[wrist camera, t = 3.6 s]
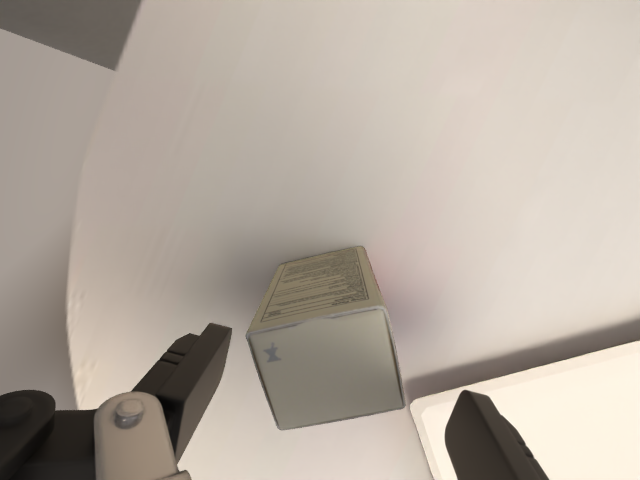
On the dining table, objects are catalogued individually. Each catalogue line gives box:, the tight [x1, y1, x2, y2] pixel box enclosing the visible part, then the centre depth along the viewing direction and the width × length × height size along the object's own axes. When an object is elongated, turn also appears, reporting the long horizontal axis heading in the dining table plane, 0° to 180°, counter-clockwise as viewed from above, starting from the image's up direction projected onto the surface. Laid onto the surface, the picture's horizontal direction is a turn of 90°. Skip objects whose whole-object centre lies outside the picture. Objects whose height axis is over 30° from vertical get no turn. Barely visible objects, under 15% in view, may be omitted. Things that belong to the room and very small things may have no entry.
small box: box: [246, 246, 406, 430], centre depth 16 cm, size 5×4×8 cm
